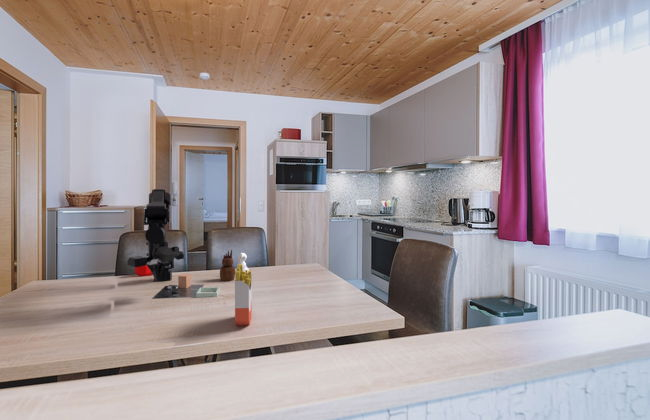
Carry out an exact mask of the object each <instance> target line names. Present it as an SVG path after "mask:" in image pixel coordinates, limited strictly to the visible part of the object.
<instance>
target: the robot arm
mask: <svg viewBox="0 0 650 420" xmlns="http://www.w3.org/2000/svg"><path fill="white" fill-rule="evenodd" d="M171 206H172V198H171V194H170V193H169V192H167V191H166V189H164V188H153V189H151V192H150V193H148V203H147V204H146V207H145V208H144V210H143V212H144V213H143V226H148V227H147V229H146V231H145V235H144V236H145V240H146V243H145V244H146V245H145V246H147V247H148V248H147V250H148V251H147V252H146V257H145V256H142V255H137V256H136V255H135V256H130V257H128V258H127V266H130V267H133V268H135V267H141V266H145V265H147V266H148V268H149V269H150V271H151V273H152V276H153V282H156V283H157V282H158V283H164V282H170V281H172V280H173V273H172V272H173V271H172V269H175V262H174V261H175V259H176V260H177V261H179V260H184V259H185V254H184V251H182V250H180V246H177V245H176V246H172V247H169V243H168V241H167V225H168V224H169V222H170V213H171V212H170V207H171Z"/></svg>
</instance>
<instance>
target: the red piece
mask: <svg viewBox="0 0 650 420" xmlns="http://www.w3.org/2000/svg"><path fill="white" fill-rule="evenodd" d="M134 273H135V274H136V275H137V276H138V277H141V278H142V277H151V276H153V275H152V273H151V271H150V269H149V268H148V266H147V265H145V266H141V267H134Z"/></svg>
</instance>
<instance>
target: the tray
mask: <svg viewBox="0 0 650 420" xmlns="http://www.w3.org/2000/svg"><path fill="white" fill-rule="evenodd" d="M220 291H221V287H220V286H213V287H211V286H210V287H202V288H200V289H199V290H198V291H197V293H196V297H195V298H213V297H214V298H216V297H218V296H219V294H220Z"/></svg>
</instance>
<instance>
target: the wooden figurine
mask: <svg viewBox="0 0 650 420" xmlns="http://www.w3.org/2000/svg"><path fill="white" fill-rule="evenodd" d="M233 264H234V259H233V249H231V250H230V251H229V250H227V252H226V253H225V254H223V258H222V260H221V265H222V266H221V267H220V269H219V277H220V280H221V281H222V282H232V281H235V279H236V277H235V271H236V268H235V266H233Z"/></svg>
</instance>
